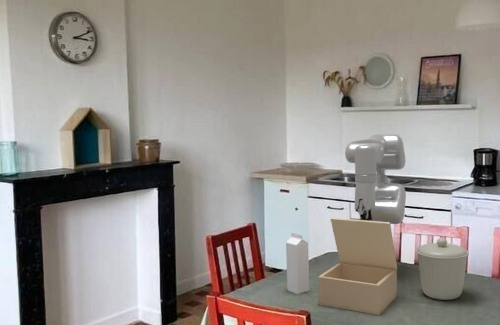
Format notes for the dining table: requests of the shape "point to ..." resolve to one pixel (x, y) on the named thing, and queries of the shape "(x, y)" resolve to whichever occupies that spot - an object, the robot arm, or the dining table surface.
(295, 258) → the milk
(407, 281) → the dining table surface
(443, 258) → the canister
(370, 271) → the carton
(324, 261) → the dining table surface
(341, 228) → the carton lid
